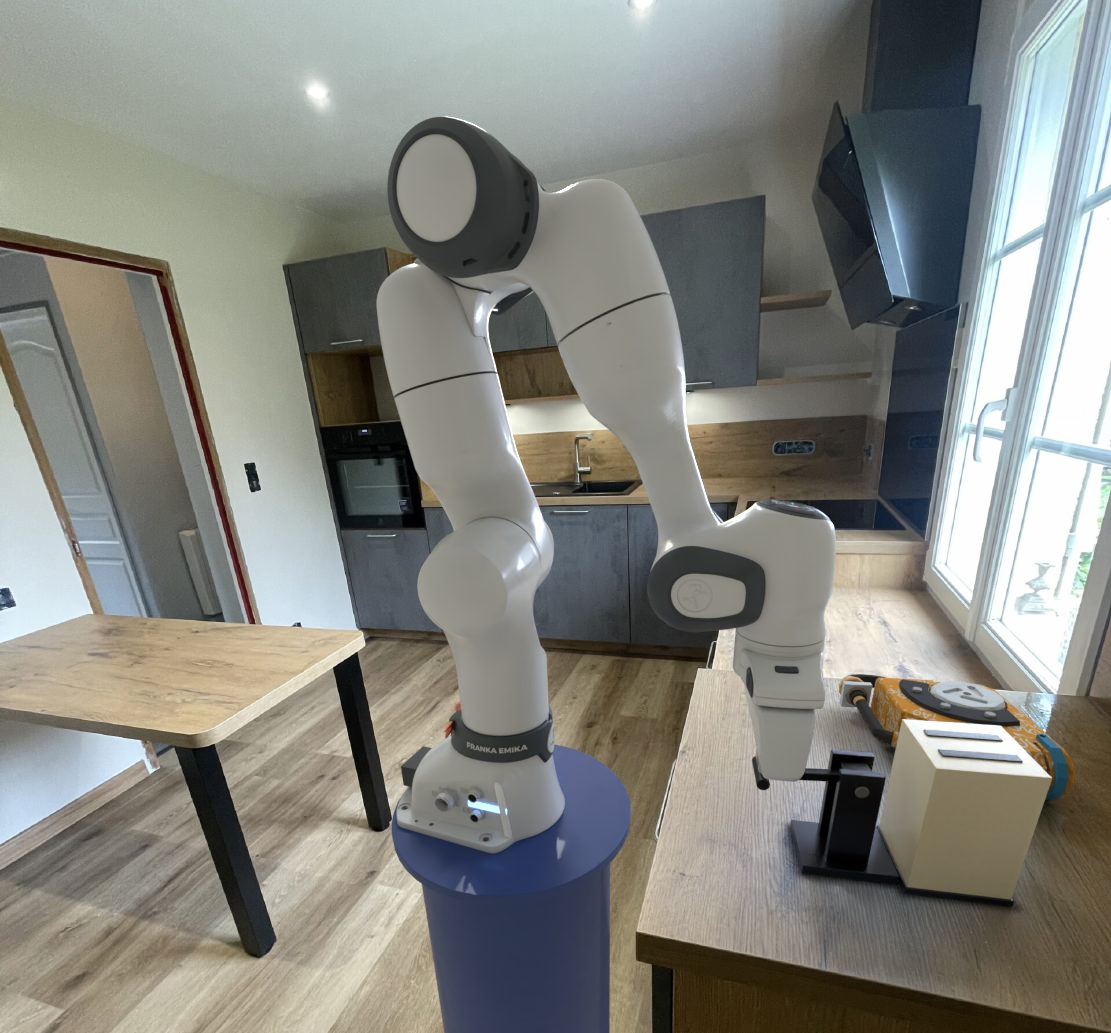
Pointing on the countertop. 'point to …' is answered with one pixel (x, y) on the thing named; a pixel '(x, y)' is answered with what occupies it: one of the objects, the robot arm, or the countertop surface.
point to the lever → (812, 773)
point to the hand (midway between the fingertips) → (764, 767)
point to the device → (952, 716)
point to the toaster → (961, 810)
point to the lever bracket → (847, 827)
